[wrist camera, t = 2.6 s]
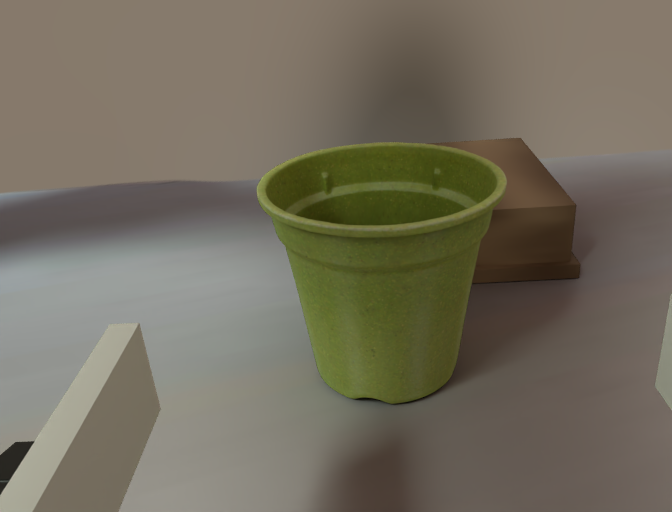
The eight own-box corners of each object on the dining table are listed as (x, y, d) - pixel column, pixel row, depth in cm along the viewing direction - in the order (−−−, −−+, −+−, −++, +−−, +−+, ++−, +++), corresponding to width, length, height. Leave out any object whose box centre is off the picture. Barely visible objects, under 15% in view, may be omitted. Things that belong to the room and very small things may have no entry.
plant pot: (406, 287, 34) (402, 128, 30) (544, 374, 27) (562, 178, 23) (246, 350, 30) (218, 175, 26) (358, 473, 22) (341, 254, 19)
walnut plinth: (336, 290, 34) (331, 222, 32) (341, 201, 46) (337, 147, 44) (578, 277, 34) (586, 207, 32) (521, 191, 45) (524, 135, 43)
